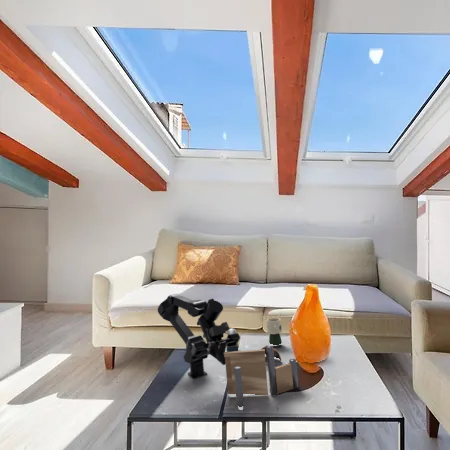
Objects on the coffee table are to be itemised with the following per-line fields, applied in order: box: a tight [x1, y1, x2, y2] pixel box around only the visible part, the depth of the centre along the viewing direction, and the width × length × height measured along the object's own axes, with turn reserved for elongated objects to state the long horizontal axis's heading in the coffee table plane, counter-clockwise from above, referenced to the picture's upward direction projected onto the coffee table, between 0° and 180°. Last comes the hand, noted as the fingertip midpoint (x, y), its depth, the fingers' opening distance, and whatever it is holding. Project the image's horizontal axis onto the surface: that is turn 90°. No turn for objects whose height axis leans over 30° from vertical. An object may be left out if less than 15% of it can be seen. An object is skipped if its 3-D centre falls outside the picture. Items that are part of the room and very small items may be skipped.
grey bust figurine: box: [225, 328, 240, 352], centre depth 184 cm, size 6×8×11 cm
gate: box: [224, 348, 269, 396], centre depth 135 cm, size 2×14×16 cm, turn 87°
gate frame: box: [234, 345, 299, 407], centre depth 133 cm, size 4×26×17 cm, turn 117°
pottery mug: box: [261, 345, 282, 364], centre depth 166 cm, size 12×10×8 cm
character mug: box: [265, 317, 283, 345], centre depth 187 cm, size 11×7×13 cm, turn 0°
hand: (224, 364), depth 140 cm, fingers closed
